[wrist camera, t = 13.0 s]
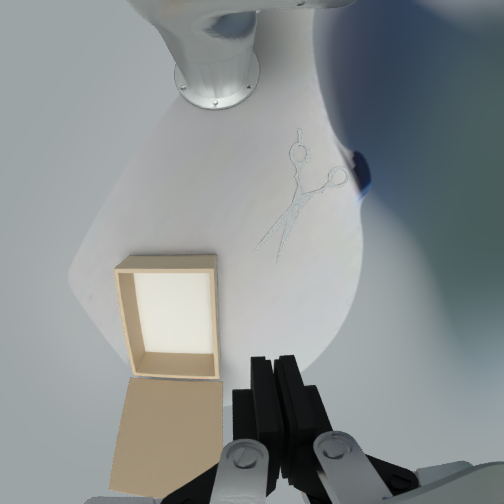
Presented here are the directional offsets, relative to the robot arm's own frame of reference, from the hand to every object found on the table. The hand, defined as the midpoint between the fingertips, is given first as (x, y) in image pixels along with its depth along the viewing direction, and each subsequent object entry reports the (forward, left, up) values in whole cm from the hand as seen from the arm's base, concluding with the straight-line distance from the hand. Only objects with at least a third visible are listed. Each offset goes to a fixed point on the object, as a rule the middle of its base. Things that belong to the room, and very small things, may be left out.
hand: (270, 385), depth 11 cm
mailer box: (+13, -11, -35) cm, 39 cm away
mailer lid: (+25, -11, -18) cm, 33 cm away
